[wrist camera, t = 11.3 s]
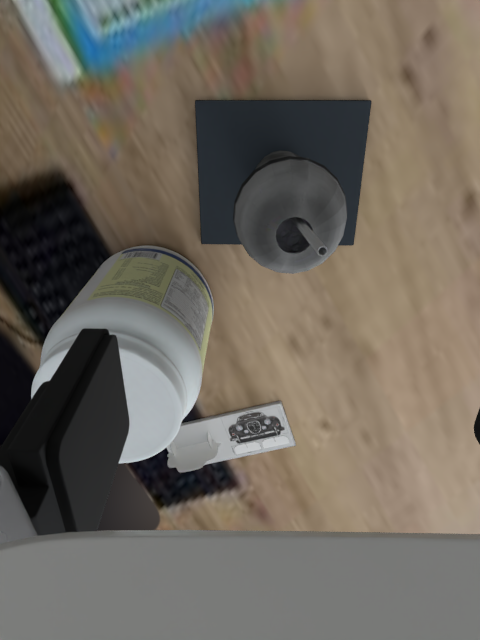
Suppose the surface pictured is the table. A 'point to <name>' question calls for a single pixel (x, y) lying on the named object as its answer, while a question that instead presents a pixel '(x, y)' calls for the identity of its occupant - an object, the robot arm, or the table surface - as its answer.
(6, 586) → the robot arm
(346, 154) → the mat
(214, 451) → the vintage car picture box
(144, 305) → the supplement tub
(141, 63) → the table surface
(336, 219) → the beverage cup
